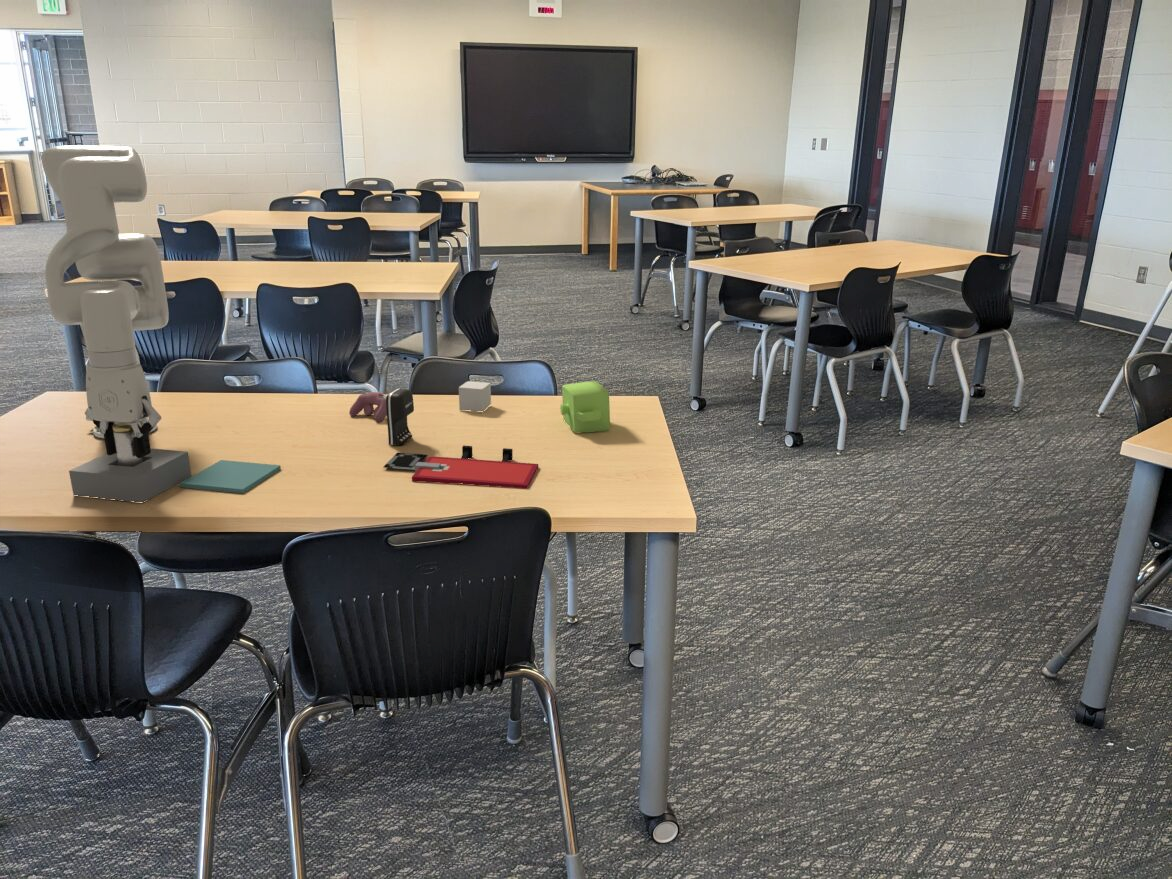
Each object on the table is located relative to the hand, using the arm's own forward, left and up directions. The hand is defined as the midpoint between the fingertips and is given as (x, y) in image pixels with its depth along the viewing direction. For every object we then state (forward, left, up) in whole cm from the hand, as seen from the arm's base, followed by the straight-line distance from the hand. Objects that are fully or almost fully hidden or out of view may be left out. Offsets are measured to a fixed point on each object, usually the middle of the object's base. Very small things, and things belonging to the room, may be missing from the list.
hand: (129, 453), depth 160 cm
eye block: (0, 0, -6) cm, 6 cm away
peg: (0, 0, -6) cm, 6 cm away
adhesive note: (+45, +64, -7) cm, 79 cm away
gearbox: (+73, +57, -7) cm, 93 cm away
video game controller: (+24, +51, -7) cm, 57 cm away
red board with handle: (+56, +23, -7) cm, 61 cm away
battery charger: (+38, +36, -7) cm, 53 cm away
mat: (+15, +8, -6) cm, 18 cm away
